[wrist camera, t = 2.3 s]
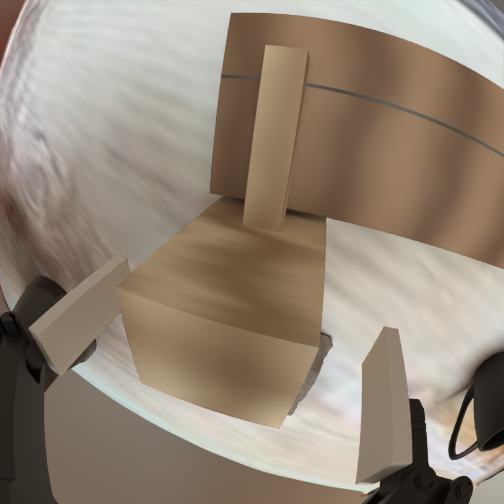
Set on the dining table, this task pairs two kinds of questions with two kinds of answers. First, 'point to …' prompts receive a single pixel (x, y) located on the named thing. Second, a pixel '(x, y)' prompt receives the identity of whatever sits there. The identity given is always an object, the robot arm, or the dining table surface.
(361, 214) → the board
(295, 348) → the beige block with bar
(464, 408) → the mug
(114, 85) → the dining table surface
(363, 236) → the dining table surface
